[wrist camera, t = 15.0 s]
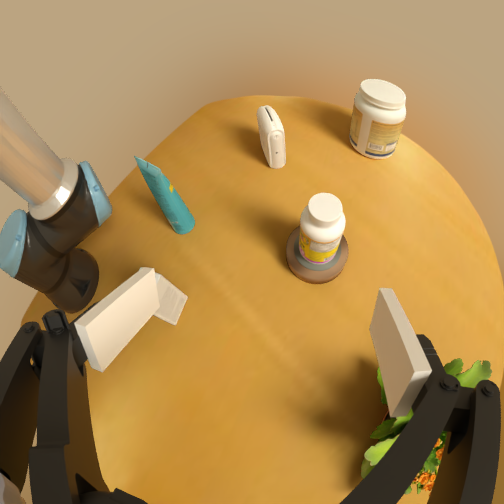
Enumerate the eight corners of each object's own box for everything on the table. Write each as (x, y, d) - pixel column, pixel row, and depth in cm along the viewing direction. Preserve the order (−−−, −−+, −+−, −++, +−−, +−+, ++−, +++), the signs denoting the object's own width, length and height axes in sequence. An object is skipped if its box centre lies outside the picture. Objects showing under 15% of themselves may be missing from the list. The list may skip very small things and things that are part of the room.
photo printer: (288, 167, 60) (286, 125, 49) (270, 171, 60) (264, 129, 49) (276, 139, 64) (272, 99, 53) (259, 142, 64) (253, 102, 53)
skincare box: (170, 289, 51) (140, 265, 40) (188, 297, 50) (162, 273, 39) (157, 318, 48) (123, 300, 38) (175, 326, 47) (144, 311, 37)
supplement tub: (401, 147, 59) (418, 95, 44) (379, 169, 57) (397, 112, 42) (363, 123, 64) (372, 71, 49) (339, 142, 62) (345, 85, 46)
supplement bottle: (301, 228, 49) (304, 183, 37) (338, 234, 48) (350, 190, 36) (295, 262, 46) (297, 223, 35) (334, 269, 45) (348, 231, 33)
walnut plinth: (276, 244, 52) (275, 236, 49) (325, 220, 53) (327, 211, 50) (304, 294, 47) (305, 289, 44) (356, 266, 48) (360, 259, 45)
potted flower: (321, 389, 40) (340, 398, 24) (434, 328, 41) (490, 301, 25) (364, 500, 29) (394, 545, 13) (470, 433, 29) (526, 442, 14)
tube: (204, 222, 56) (171, 157, 39) (190, 240, 55) (150, 180, 37) (178, 209, 58) (141, 148, 41) (164, 226, 57) (122, 168, 40)
